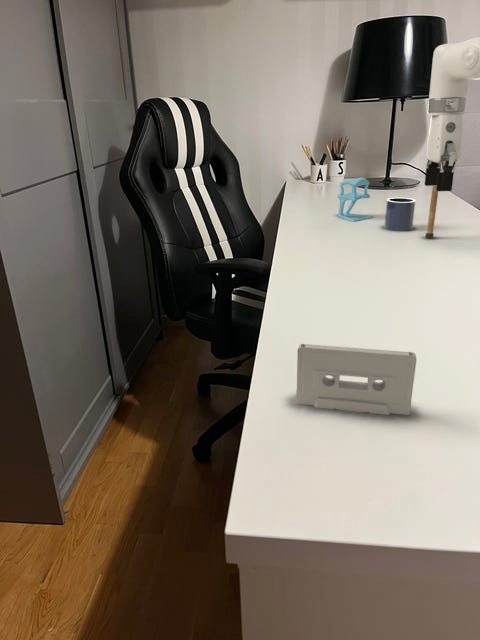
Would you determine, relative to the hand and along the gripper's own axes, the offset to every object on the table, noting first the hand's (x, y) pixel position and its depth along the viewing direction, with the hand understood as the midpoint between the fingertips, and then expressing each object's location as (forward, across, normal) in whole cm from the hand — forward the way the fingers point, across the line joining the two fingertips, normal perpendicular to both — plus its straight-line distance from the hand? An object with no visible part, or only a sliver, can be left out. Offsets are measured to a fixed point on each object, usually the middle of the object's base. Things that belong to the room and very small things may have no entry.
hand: (437, 188), depth 116 cm
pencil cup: (+12, +12, +6) cm, 18 cm away
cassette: (+14, -74, +28) cm, 81 cm away
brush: (+13, +1, 0) cm, 13 cm away
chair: (+12, +27, +16) cm, 33 cm away
